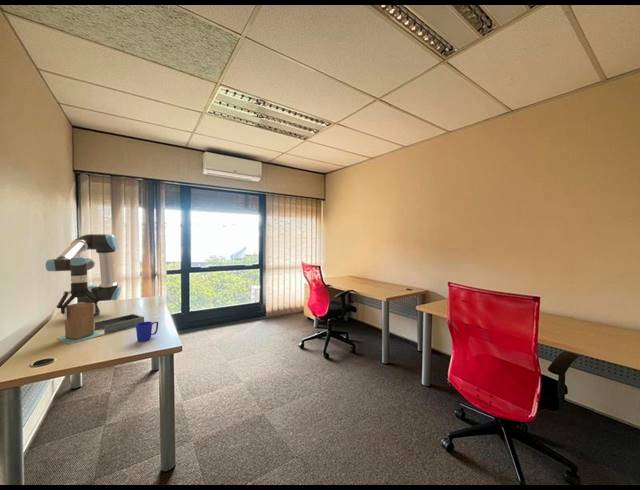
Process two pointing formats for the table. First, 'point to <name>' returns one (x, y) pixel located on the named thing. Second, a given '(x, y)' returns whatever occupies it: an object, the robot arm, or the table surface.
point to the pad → (70, 341)
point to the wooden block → (79, 320)
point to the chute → (118, 323)
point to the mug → (145, 330)
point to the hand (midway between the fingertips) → (79, 316)
